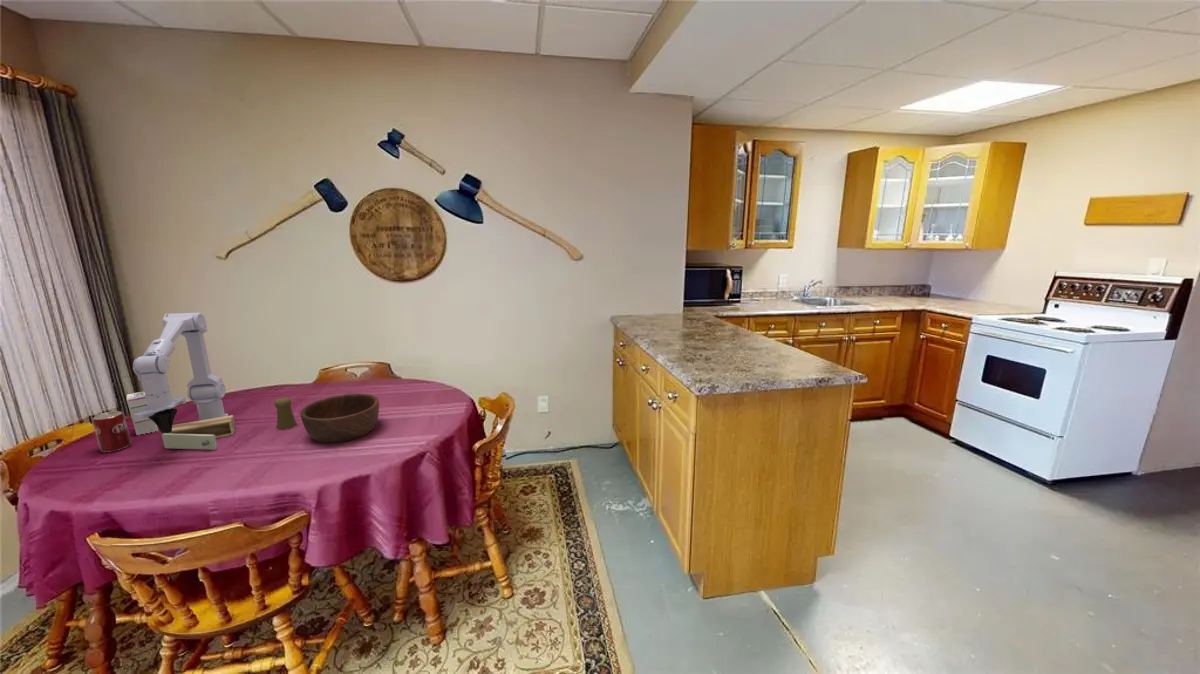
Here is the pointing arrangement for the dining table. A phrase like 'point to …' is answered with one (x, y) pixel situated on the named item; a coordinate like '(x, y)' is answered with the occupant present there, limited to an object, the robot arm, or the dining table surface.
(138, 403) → the syrup box
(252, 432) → the dining table surface
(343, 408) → the wooden bowl
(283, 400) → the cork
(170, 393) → the robot arm
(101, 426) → the soda can
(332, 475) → the dining table surface
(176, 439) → the cabinet door
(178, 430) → the cabinet
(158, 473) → the dining table surface
